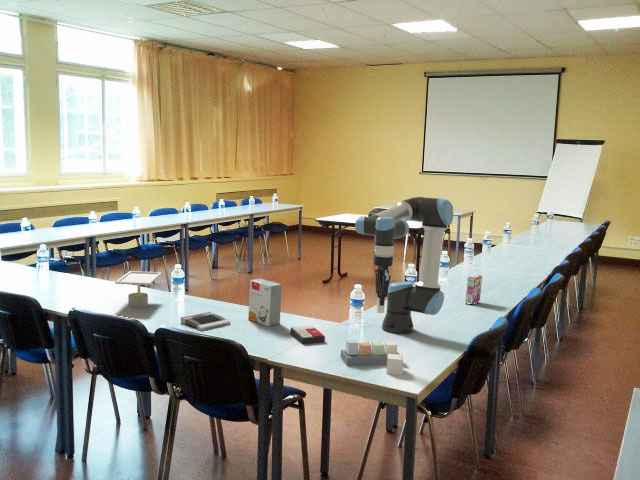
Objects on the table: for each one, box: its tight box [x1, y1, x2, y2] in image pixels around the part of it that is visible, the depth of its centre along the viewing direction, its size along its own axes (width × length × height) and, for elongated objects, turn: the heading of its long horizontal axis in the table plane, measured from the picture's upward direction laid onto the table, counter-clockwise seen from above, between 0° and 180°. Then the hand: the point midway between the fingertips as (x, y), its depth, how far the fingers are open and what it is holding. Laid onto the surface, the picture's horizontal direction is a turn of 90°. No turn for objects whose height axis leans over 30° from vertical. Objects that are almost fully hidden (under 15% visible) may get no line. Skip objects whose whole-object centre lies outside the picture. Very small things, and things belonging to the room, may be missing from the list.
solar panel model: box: [114, 270, 163, 309], centre depth 313 cm, size 28×17×15 cm, turn 2°
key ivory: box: [384, 341, 398, 355], centre depth 247 cm, size 4×4×5 cm
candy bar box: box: [465, 274, 483, 304], centre depth 353 cm, size 11×5×16 cm, turn 144°
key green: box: [371, 341, 385, 355], centre depth 246 cm, size 4×4×5 cm
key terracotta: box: [358, 342, 372, 355], centre depth 245 cm, size 4×4×5 cm
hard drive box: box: [247, 278, 283, 327], centre depth 293 cm, size 16×8×20 cm, turn 47°
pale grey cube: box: [386, 354, 404, 376], centre depth 235 cm, size 6×6×6 cm
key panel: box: [340, 348, 401, 366], centre depth 246 cm, size 23×10×3 cm, turn 102°
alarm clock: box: [180, 311, 231, 332], centre depth 286 cm, size 17×5×16 cm
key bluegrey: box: [345, 339, 359, 355], centre depth 244 cm, size 4×4×5 cm
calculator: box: [289, 325, 326, 345], centre depth 271 cm, size 11×4×15 cm
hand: (380, 312), depth 246 cm, fingers closed
